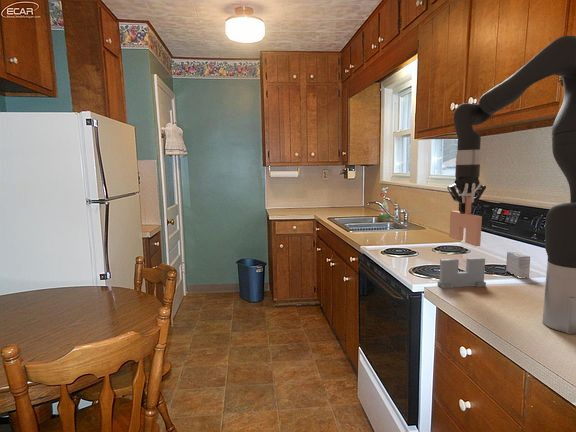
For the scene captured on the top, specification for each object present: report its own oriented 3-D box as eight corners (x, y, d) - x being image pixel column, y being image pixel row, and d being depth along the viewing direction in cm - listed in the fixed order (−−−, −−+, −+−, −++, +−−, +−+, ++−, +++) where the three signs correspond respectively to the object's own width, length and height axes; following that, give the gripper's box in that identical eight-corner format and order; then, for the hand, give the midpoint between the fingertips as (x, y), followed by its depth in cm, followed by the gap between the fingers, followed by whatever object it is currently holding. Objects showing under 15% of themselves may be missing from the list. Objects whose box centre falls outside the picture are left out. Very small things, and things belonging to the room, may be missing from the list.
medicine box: (529, 278, 134) (531, 256, 133) (517, 278, 134) (519, 256, 133) (516, 272, 142) (518, 251, 141) (505, 272, 142) (506, 251, 141)
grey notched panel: (478, 282, 130) (480, 256, 129) (485, 286, 126) (487, 259, 125) (437, 285, 129) (438, 258, 127) (443, 288, 125) (444, 261, 123)
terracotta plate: (480, 246, 117) (482, 198, 115) (475, 246, 117) (478, 198, 115) (453, 236, 133) (455, 194, 131) (449, 236, 133) (451, 194, 131)
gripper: (455, 163, 117) (452, 215, 120) (493, 163, 118) (490, 214, 121) (443, 164, 125) (441, 212, 127) (479, 163, 126) (477, 211, 128)
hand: (465, 213), depth 124 cm, fingers closed on terracotta plate, 1 cm apart
